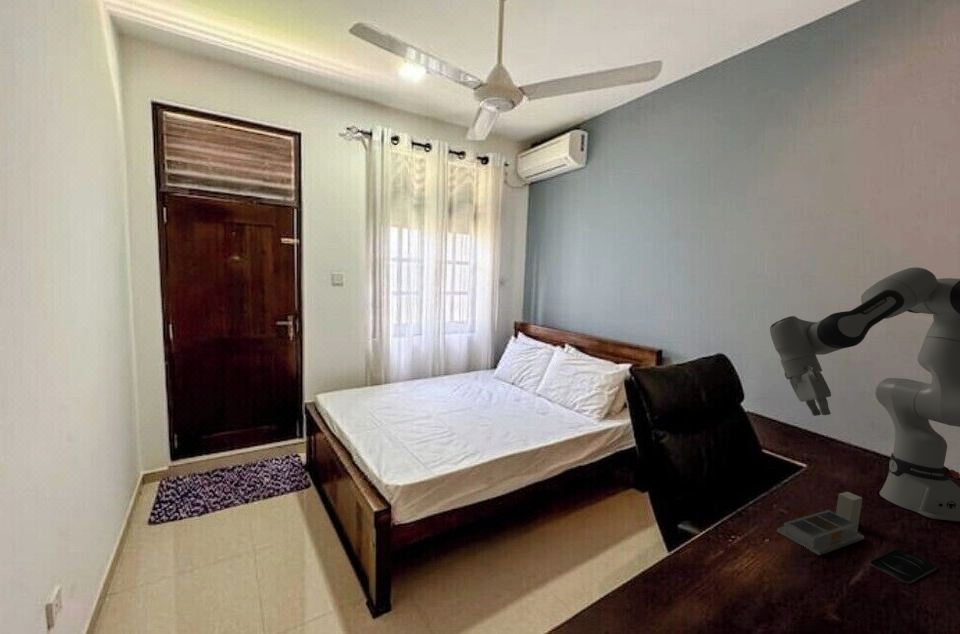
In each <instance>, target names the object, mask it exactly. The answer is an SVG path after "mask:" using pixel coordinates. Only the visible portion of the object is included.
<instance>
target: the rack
mask: <svg viewBox="0 0 960 634" xmlns="http://www.w3.org/2000/svg"><path fill="white" fill-rule="evenodd" d="M858 530H859V523H855V522H853V521H851V520H849V519H846V518H844V517H842V516H840V515H838V514H836V512H834V511H832V510H830V509H826V510H823V511H820V512H815V513H812V514H810V515H809V514H808V515H805V516H802V517H799V518H798V517H797V518H796V519H792V520H788V521H785V522H784V523H783V526H781V527H777V528H776V533H778V534H780V535H782V536H784V537H785V538H787V539H789V540H791V541H793V542H794V543H796V544H798V545H800V546H801V545H802V547H803V546H804V547H803V548H805V547H806V548H805V549H807V550H808V549H809V550H808V551H811V552H812V553H814V554H816V555H817V556H821V555H824V554H828V553H830V552H833V551H836V550H838V549H841V548H843V547H846V546H849V545H851V544H854V543H857V542H860V541H863V540H864V539H865V535H863V534H861V533H859V532H858Z"/></svg>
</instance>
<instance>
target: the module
mask: <svg viewBox="0 0 960 634" xmlns="http://www.w3.org/2000/svg"><path fill="white" fill-rule="evenodd" d="M862 503H863V497H862V496H859V495H857V494H854V493H852V492H849V491H845V492H841V493H838V496H837V503H836V509H835V510H836V511H835V513H836V514H838V515H840V516H842V517H844V518H846V519H849V520H851V521H853V522H855V523H858V524H859V523H860V516H861V509H862Z"/></svg>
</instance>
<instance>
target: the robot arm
mask: <svg viewBox="0 0 960 634" xmlns="http://www.w3.org/2000/svg"><path fill="white" fill-rule="evenodd" d="M860 302H861V304H860V305H858V306H856V307H855V308H853V309H851V310H847V311H845V310H844V311H838V312H834V313H832V314H829V315H828V316H826V317H825V318H823V319H820V320H818V321H808V320H804V319H801V318H798V317H797V316H795V315H793V316H792V315H791V316H788V317H784V318H781V319H780V320H778V321H776V322H774V323H772V325H771V326H770V327H769V332H770V337H771V341H772V342H773V345H774V348H775V351H776V352H777V353H778V355H779V357H780V364H781V366H782V368H783V372H784V376H785V378H786V380H789V384H790V385H791V387H792V389H793V391H794V393H795V395H796V397H797V399H798V400H799V401H800V402H801V403H802V402H805V404H806V405H807V407H808V409H809V410H810V413H811V414H812V416H814V417H816V416H829V415H831V414H832V413H831V410H830V407H829V401H828V400H827V398H830V397H832V392H831V390H830V386H829V385H828V383H827V381H826V379H825V378H824V375H823V374H822V372H823V368H822V366H821V364H820V362H819V359H818V356H822V355H823V356H824V355H828V354H831V353H834V352H837V351H840V350H843V349H847V348H851V347H855V346H857V345H859V344H860V343H862V342H863V340H864V339H865V338H866V335H867V334H868V332H869V331H870V330H871V328H872V327H874V326H875V325H876V324H878V323H880V322H881V321H883V320H884V319H891V318H894V317H896V316H899V315H901V314H904V313H906V312H908V313H913V314H925V315H932V316H933V317H932V318H933V321H932V323H931V325H930V327H929V328H928V330H927V332H926V335H925V338H924V339H923V343H922V345H921V348H920V350H919V352H918V355H917V362H918V364H919V365H920V367H922V368H923V369H924V370H926V371H927V372H928V373H930V374H931V383H927V382H923V381H918V380H914V379H909V378H901V377H900V378H899V377H894V378H893V377H887V378H884V379H883V380H882V381H880V382H879V383H878V384H877V385H876V388H875V397H876V399H877V402H878V403H879V404H880V405H882V406H883V407H884V409H885V410H886V411H887V413H888V414H889V416H890V418H891V420H892V422H893V423H892V424H893V426H894V432H895V435H894V446H893V453H891V454H890V458H889V465H888V475H887V477H886V480H885V482H884V484H883V486H882V487H881V490H879V495H880V497H882V498H883V499H885V500H886V501H888V502H890V503H892V504H894V505H896V506H899V507H901V508H903V509H907V510H910V511H912V512H915V513H918V514H920V515H921V516H924V517H927V518H930V519H933V520H944V521H951V522H952V521H953V522H960V486H958V485H957V484H956V483H955V482H953V481H952V480H951V479H950V477H952V478H954V479H959V478H960V472H958V471H956V470H954V469H950V468H948V467H947V466H945V463H946V462H945V461H946V456H947V450H948V444H947V443H948V442H947V440H946V439H945V438H944V437H943V436H942V435H941V434H940V433H938V432H937V431H935V430H934V428H933V426H932V425H931V423H930V421H933V422H936V423H940V424H944V425H946V426H951V427H958V428H960V278H951V277H950V278H946V277H945V278H937V277H936V276H935V274H934V273H933V272H931V271H930V270H928V269H926V268H923V267H917V266H916V267H915V266H914V267H908V268H905V269H903V270H900V271H897V272H895V273H893V274H890V275H888V276H886V277H884V278H882V279H881V280H879V281H877V282H876V283H874V284H873V285H870V287H869V288H868V289H866V290H865V291H864V292H863V293H862V294H861V296H860ZM817 404H818V405H817Z"/></svg>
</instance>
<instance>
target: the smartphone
mask: <svg viewBox="0 0 960 634" xmlns="http://www.w3.org/2000/svg"><path fill="white" fill-rule="evenodd" d="M869 564H870V566H872V567H873V568H875V569H877V570H879V571H881V572H883V573H885V574H887V575H889V576H890V577H892V578H894V579H896V580H898V581H900V582H902V583H904V584H908V585H911V584H913V583H914V582H916V581H919V580H921V579H922V578H924V577H925V576H928V575H930V574H932V573H933V572H936V570H937V566H936V565H935V564H933V563H931V562H930V561H927V560H925V559H922V558H921V557H920V556H919V557H918V556H916V555H914V554H912V553H911V552H908V551H905V550H903V549H900V548H895V549H893V550H890V551H889V552H887V553H885V554H882V555H880V556H878V557H876V558H874V559H872V560H870V561H869Z"/></svg>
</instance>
